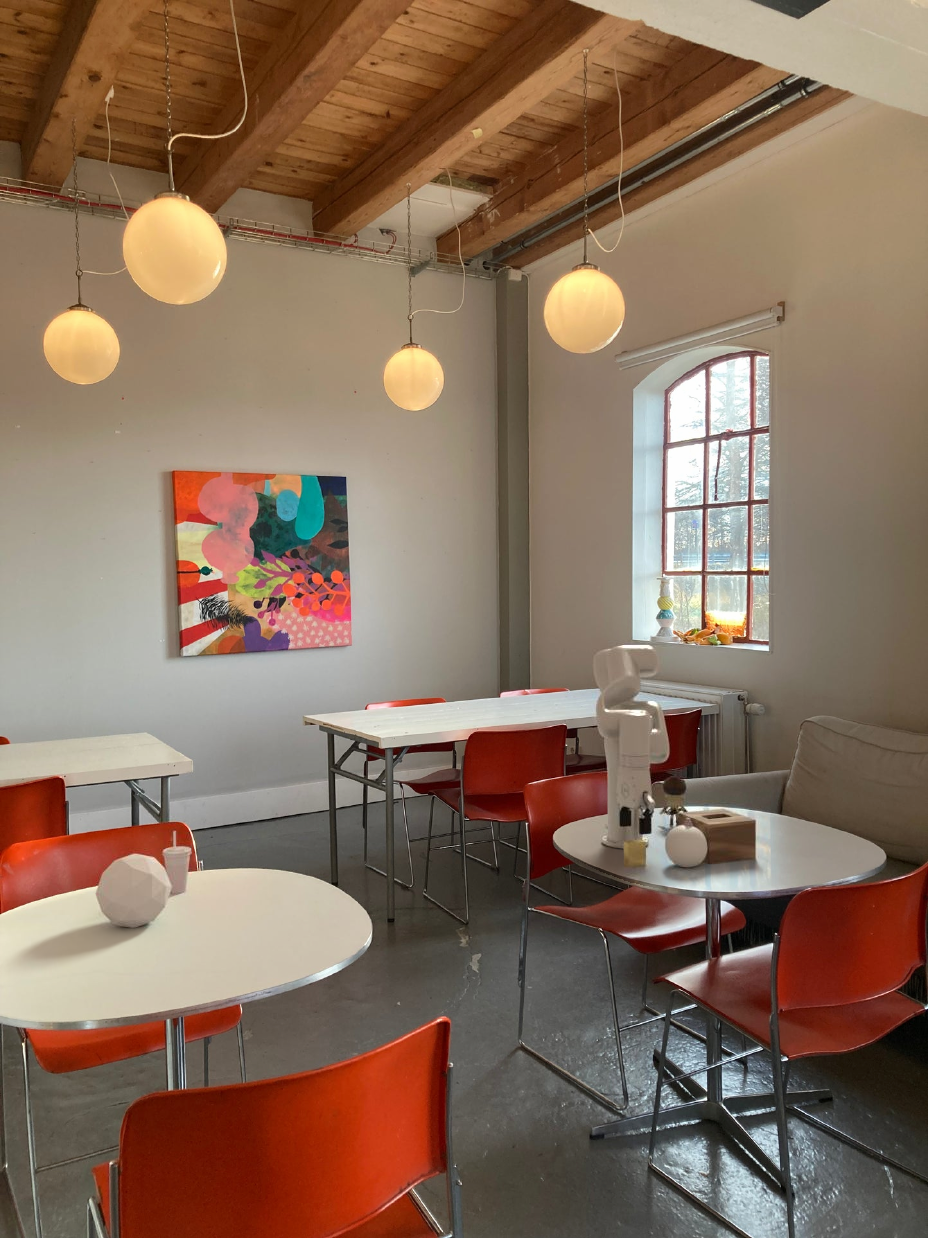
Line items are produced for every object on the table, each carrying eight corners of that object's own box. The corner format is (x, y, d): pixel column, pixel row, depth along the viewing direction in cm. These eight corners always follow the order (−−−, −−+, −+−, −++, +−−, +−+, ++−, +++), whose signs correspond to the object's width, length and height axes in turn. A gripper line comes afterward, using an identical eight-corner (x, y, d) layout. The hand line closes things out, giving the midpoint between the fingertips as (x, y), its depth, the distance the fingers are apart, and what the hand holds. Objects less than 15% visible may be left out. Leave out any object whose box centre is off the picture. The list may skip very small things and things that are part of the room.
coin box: (678, 850, 244) (678, 812, 244) (723, 845, 249) (723, 808, 249) (709, 864, 231) (709, 824, 231) (755, 858, 236) (755, 820, 235)
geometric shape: (146, 941, 194) (184, 876, 200) (143, 939, 180) (184, 869, 187) (85, 910, 193) (126, 845, 199) (77, 906, 179) (121, 837, 186)
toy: (689, 823, 274) (689, 773, 274) (690, 828, 267) (690, 777, 267) (659, 821, 276) (659, 772, 276) (659, 827, 269) (659, 776, 269)
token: (623, 864, 231) (623, 841, 231) (641, 862, 233) (641, 839, 233) (628, 867, 229) (628, 843, 229) (646, 865, 230) (645, 841, 230)
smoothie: (170, 886, 215) (169, 827, 215) (196, 887, 214) (195, 828, 214) (158, 895, 208) (157, 834, 208) (185, 896, 208) (184, 835, 208)
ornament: (701, 860, 234) (701, 814, 234) (711, 872, 224) (711, 823, 224) (661, 860, 234) (661, 814, 234) (670, 872, 224) (669, 823, 224)
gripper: (605, 758, 237) (605, 824, 236) (639, 767, 221) (639, 838, 220) (630, 757, 239) (631, 822, 239) (666, 765, 223) (666, 836, 223)
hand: (635, 830), depth 230 cm, fingers open, 9 cm apart
